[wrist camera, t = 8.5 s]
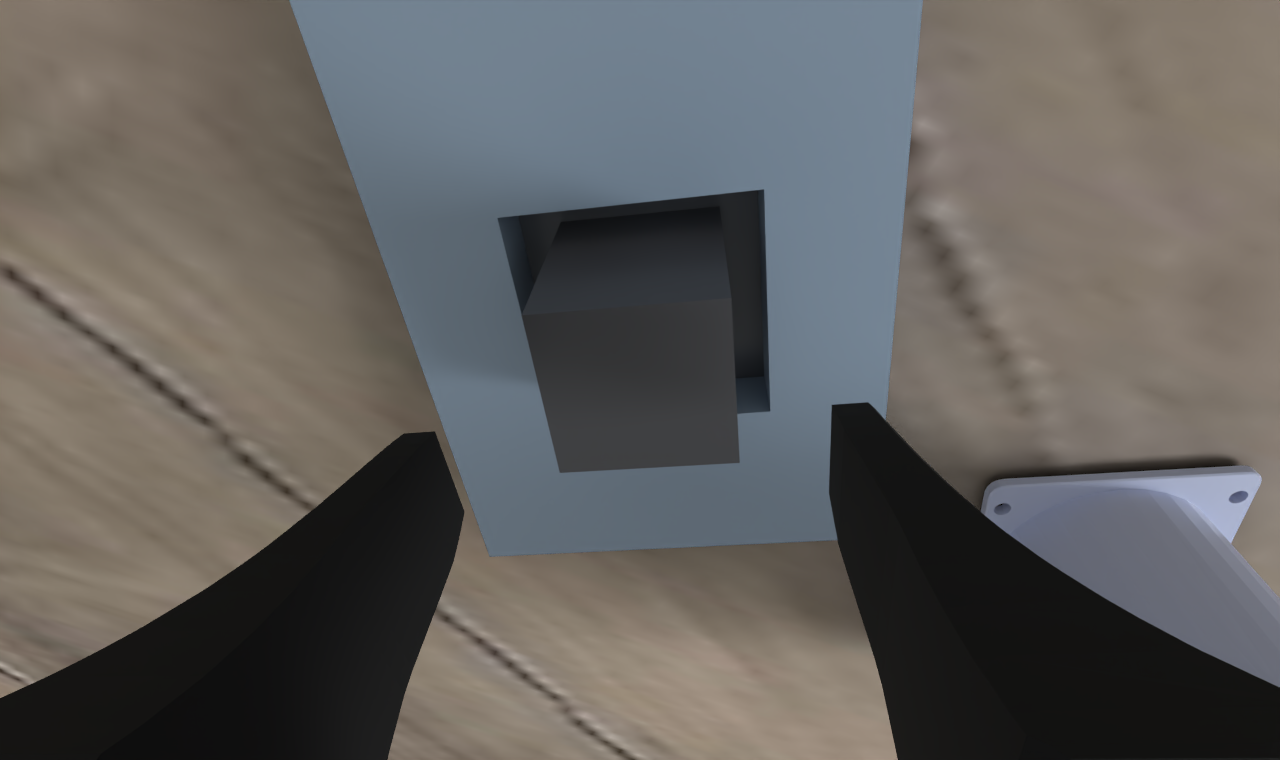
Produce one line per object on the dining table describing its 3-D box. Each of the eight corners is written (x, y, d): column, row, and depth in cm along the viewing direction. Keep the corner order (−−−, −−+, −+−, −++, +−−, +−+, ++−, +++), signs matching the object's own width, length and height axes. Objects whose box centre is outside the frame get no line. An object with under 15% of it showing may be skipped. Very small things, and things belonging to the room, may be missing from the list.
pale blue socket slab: (857, 481, 22) (875, 538, 20) (506, 502, 24) (489, 556, 22) (895, -110, 14) (932, -116, 12) (338, -24, 15) (283, -16, 13)
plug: (727, 345, 19) (739, 463, 15) (586, 355, 19) (559, 472, 15) (719, 206, 17) (731, 298, 13) (561, 221, 17) (521, 315, 13)
